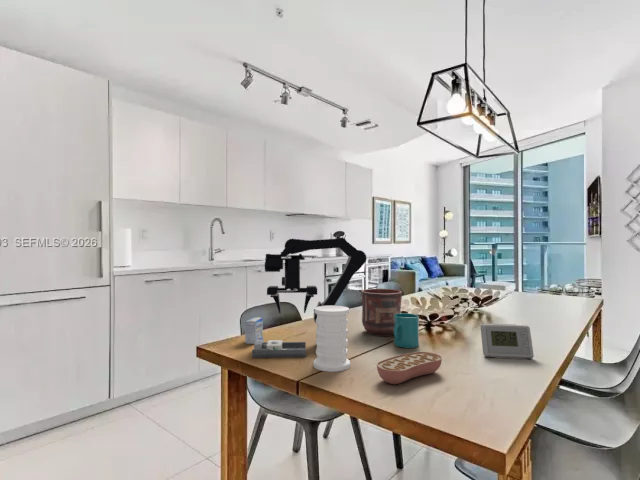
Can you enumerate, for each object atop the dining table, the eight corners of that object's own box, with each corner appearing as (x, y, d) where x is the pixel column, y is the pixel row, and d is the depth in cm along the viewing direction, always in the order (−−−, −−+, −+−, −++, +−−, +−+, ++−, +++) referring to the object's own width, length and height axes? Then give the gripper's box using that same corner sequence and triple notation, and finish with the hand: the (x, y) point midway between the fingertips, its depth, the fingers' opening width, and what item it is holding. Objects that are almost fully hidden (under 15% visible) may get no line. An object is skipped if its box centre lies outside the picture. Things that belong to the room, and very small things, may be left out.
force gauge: (282, 346, 134) (282, 339, 134) (281, 353, 125) (281, 346, 126) (264, 346, 134) (264, 339, 134) (261, 353, 125) (261, 346, 125)
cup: (384, 346, 139) (384, 316, 139) (403, 340, 147) (403, 312, 147) (405, 351, 133) (405, 320, 133) (423, 345, 141) (423, 315, 141)
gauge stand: (305, 348, 136) (305, 337, 136) (305, 356, 126) (306, 345, 126) (255, 349, 135) (255, 338, 135) (252, 357, 125) (252, 345, 125)
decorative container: (314, 359, 123) (314, 305, 124) (349, 359, 123) (349, 305, 123) (312, 371, 112) (312, 311, 112) (351, 372, 111) (351, 311, 112)
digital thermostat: (481, 357, 126) (481, 326, 126) (479, 350, 134) (479, 320, 135) (536, 363, 120) (536, 330, 121) (530, 355, 129) (530, 324, 129)
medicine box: (255, 344, 142) (255, 321, 142) (244, 343, 143) (244, 321, 143) (263, 339, 149) (263, 317, 149) (252, 338, 150) (252, 317, 150)
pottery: (411, 334, 158) (411, 291, 158) (381, 339, 148) (380, 294, 149) (382, 326, 173) (382, 287, 173) (352, 331, 163) (352, 290, 163)
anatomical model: (394, 392, 97) (394, 373, 97) (368, 380, 105) (368, 363, 105) (448, 374, 110) (448, 357, 110) (421, 365, 118) (421, 349, 118)
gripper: (316, 270, 149) (316, 309, 149) (269, 270, 149) (269, 309, 148) (317, 272, 138) (317, 314, 138) (266, 272, 137) (266, 315, 137)
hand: (292, 313), depth 141 cm, fingers open, 9 cm apart
